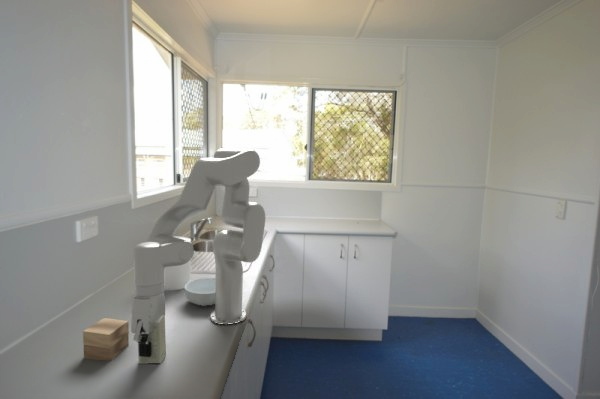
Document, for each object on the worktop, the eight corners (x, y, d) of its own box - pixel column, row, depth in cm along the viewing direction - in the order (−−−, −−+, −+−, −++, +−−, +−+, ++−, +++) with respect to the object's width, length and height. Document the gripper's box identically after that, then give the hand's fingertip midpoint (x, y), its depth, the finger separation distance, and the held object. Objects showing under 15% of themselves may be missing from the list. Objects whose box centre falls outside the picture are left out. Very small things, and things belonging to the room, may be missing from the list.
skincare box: (166, 355, 96) (166, 314, 95) (160, 364, 92) (159, 322, 90) (144, 354, 96) (143, 314, 94) (137, 364, 91) (136, 321, 90)
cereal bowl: (216, 314, 122) (217, 295, 121) (175, 308, 125) (175, 290, 125) (234, 296, 139) (235, 279, 138) (198, 291, 142) (198, 275, 141)
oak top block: (104, 330, 101) (104, 317, 100) (128, 333, 100) (128, 321, 99) (83, 344, 93) (83, 331, 92) (109, 348, 92) (109, 334, 91)
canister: (169, 292, 139) (169, 245, 137) (152, 284, 147) (151, 240, 145) (197, 284, 150) (197, 240, 147) (179, 276, 158) (179, 235, 155)
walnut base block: (103, 343, 101) (103, 331, 101) (128, 346, 100) (128, 333, 100) (83, 359, 93) (83, 345, 93) (110, 362, 92) (110, 348, 92)
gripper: (152, 276, 100) (153, 333, 102) (117, 299, 83) (118, 368, 85) (176, 277, 99) (176, 335, 102) (146, 301, 83) (147, 370, 85)
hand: (150, 349), depth 93 cm, fingers closed on skincare box, 4 cm apart
